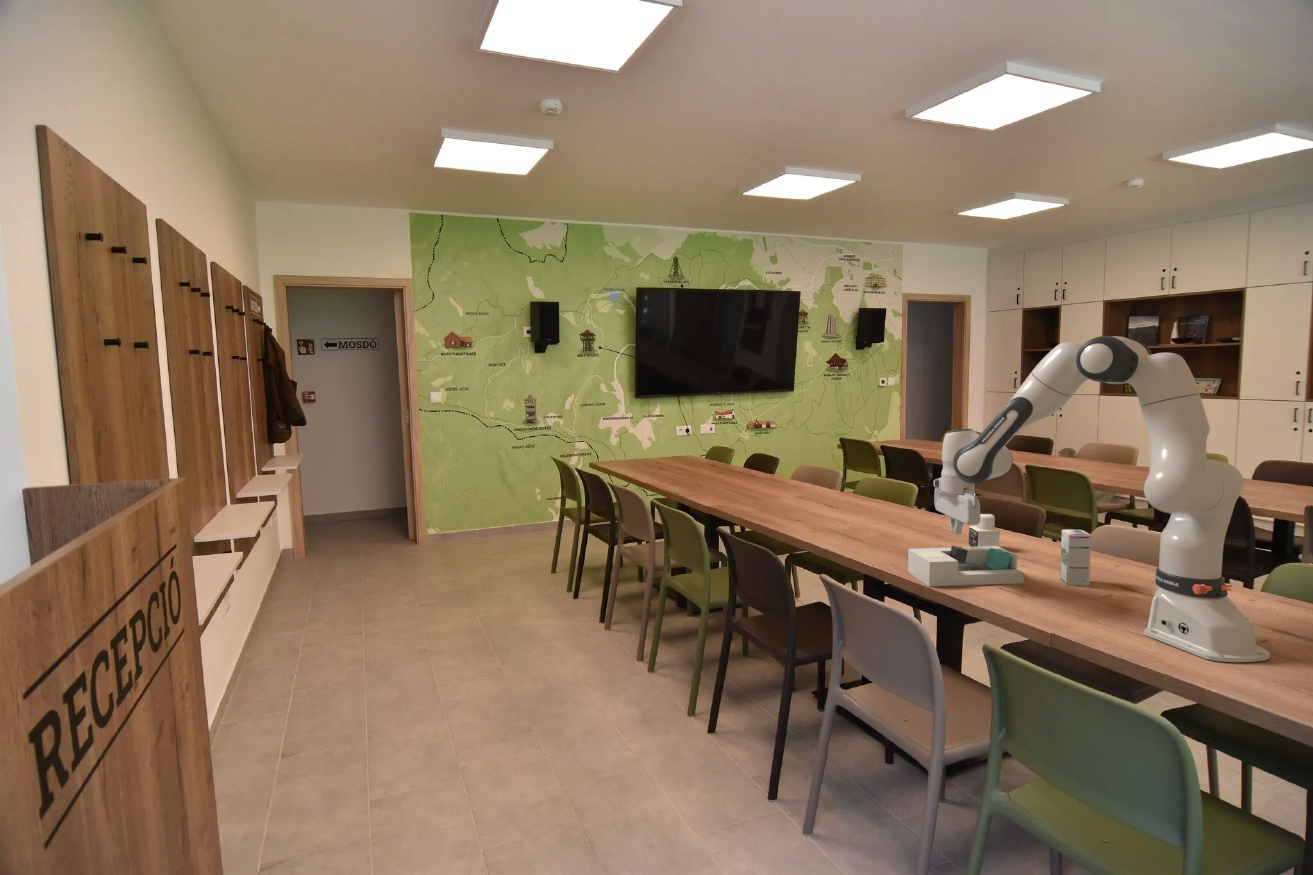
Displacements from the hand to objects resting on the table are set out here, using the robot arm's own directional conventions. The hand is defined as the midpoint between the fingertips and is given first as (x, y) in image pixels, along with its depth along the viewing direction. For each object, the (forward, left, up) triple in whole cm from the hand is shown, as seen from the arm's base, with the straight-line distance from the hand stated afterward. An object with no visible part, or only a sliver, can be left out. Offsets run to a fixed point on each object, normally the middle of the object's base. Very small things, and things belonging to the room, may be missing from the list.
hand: (955, 533), depth 199 cm
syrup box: (-8, -30, -13) cm, 34 cm away
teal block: (0, -12, -11) cm, 16 cm away
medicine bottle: (+29, -24, -13) cm, 40 cm away
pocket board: (0, -3, -13) cm, 13 cm away
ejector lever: (0, -7, -11) cm, 12 cm away
